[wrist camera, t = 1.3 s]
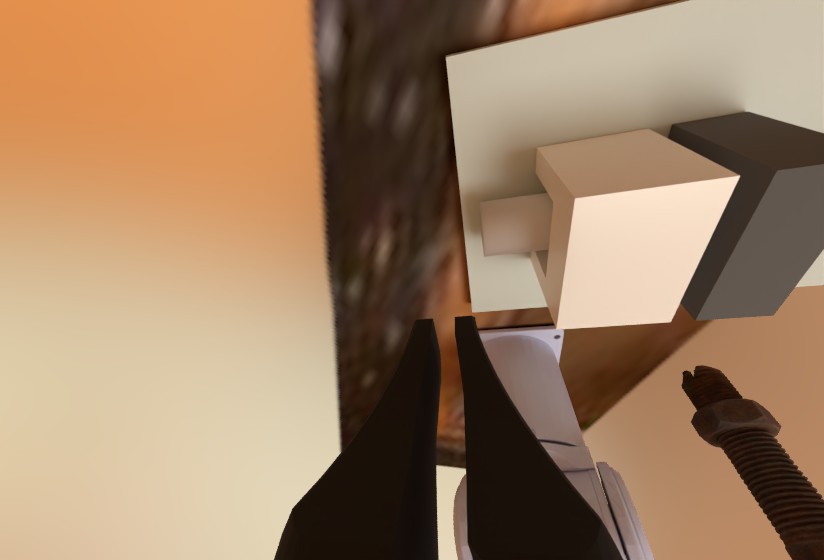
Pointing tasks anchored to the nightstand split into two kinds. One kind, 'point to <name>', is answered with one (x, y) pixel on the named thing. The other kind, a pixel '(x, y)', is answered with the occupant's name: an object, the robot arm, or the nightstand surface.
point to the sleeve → (625, 226)
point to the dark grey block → (757, 213)
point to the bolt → (758, 460)
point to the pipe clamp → (613, 110)
